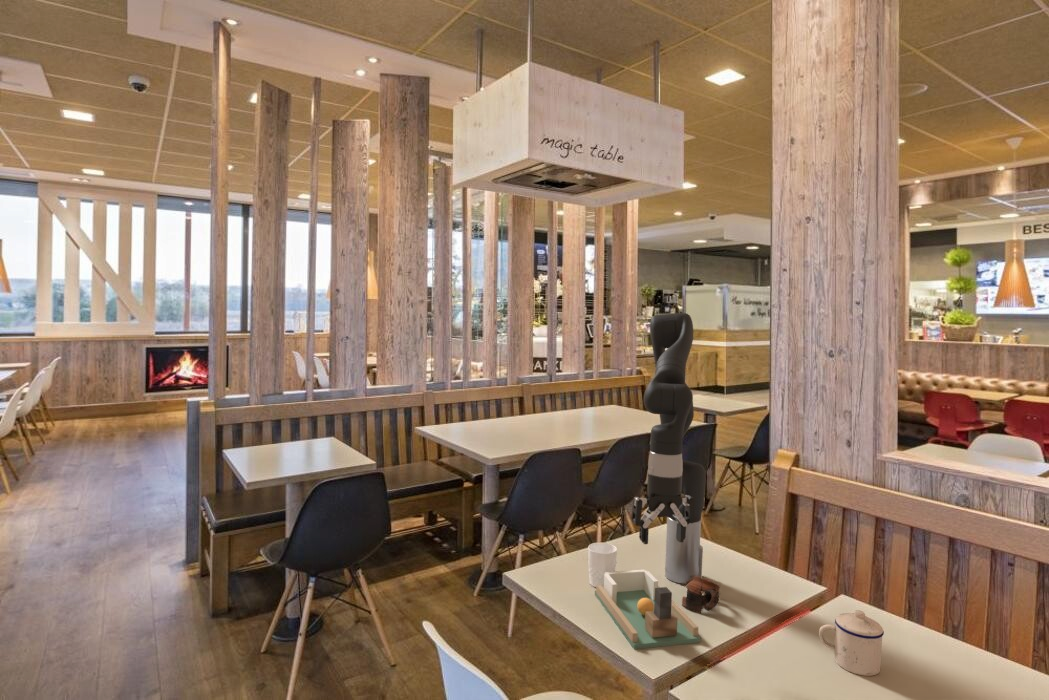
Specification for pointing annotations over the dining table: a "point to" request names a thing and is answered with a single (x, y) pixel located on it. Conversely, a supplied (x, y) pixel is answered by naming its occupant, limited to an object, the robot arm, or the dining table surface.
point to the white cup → (600, 562)
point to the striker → (661, 615)
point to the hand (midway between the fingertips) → (662, 542)
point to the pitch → (622, 607)
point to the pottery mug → (695, 596)
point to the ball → (645, 605)
